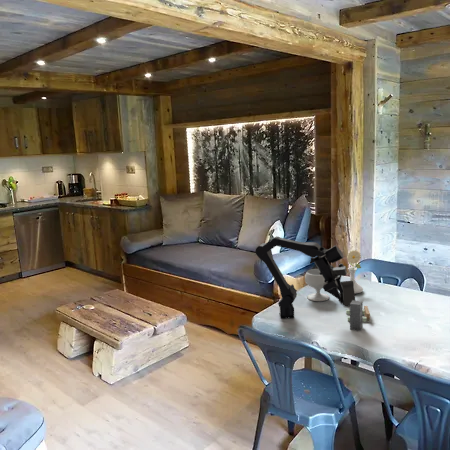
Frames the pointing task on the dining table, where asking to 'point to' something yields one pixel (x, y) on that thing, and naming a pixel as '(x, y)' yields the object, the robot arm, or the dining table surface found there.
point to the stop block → (356, 315)
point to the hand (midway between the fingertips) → (341, 295)
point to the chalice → (315, 285)
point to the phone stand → (347, 293)
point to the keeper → (365, 312)
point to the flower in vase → (354, 269)
